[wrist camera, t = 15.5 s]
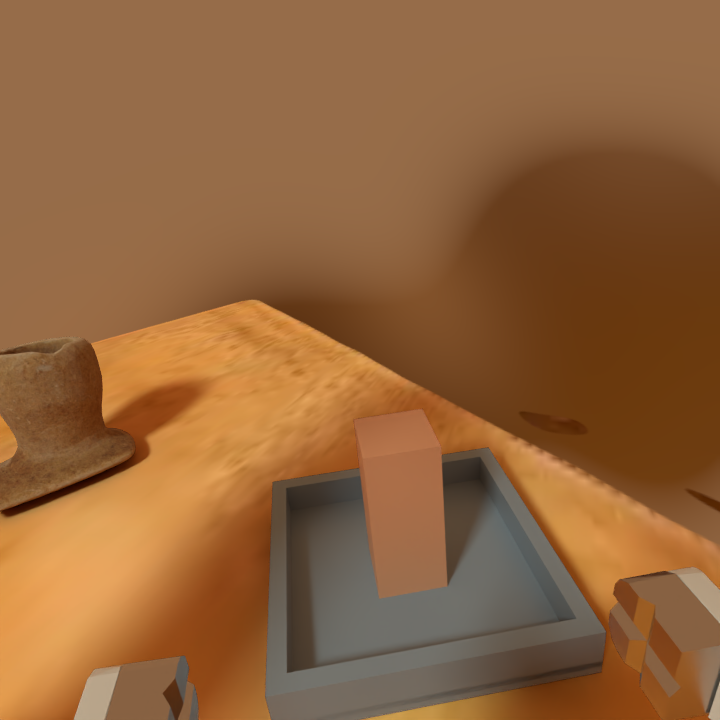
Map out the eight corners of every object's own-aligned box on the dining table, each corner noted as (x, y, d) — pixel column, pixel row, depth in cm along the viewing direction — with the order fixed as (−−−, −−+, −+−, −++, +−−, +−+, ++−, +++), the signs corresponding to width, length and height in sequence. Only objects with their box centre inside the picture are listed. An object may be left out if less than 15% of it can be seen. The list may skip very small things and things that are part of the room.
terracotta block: (379, 598, 38) (362, 458, 33) (369, 548, 43) (353, 419, 38) (447, 586, 39) (441, 446, 34) (430, 538, 43) (422, 408, 38)
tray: (275, 736, 31) (265, 696, 30) (278, 512, 50) (272, 481, 48) (601, 671, 33) (606, 631, 31) (488, 478, 51) (488, 447, 50)
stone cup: (121, 426, 68) (85, 315, 62) (148, 467, 59) (108, 341, 53) (-17, 477, 60) (-75, 355, 54) (-12, 532, 51) (-80, 394, 45)
